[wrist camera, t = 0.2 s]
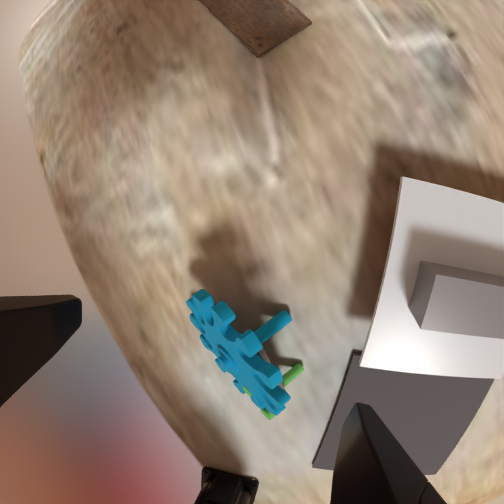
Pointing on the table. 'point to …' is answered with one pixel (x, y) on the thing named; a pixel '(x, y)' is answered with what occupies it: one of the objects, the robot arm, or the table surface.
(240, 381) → the gear
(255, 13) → the wooden plank
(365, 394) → the mat
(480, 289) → the lid
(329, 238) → the table surface
